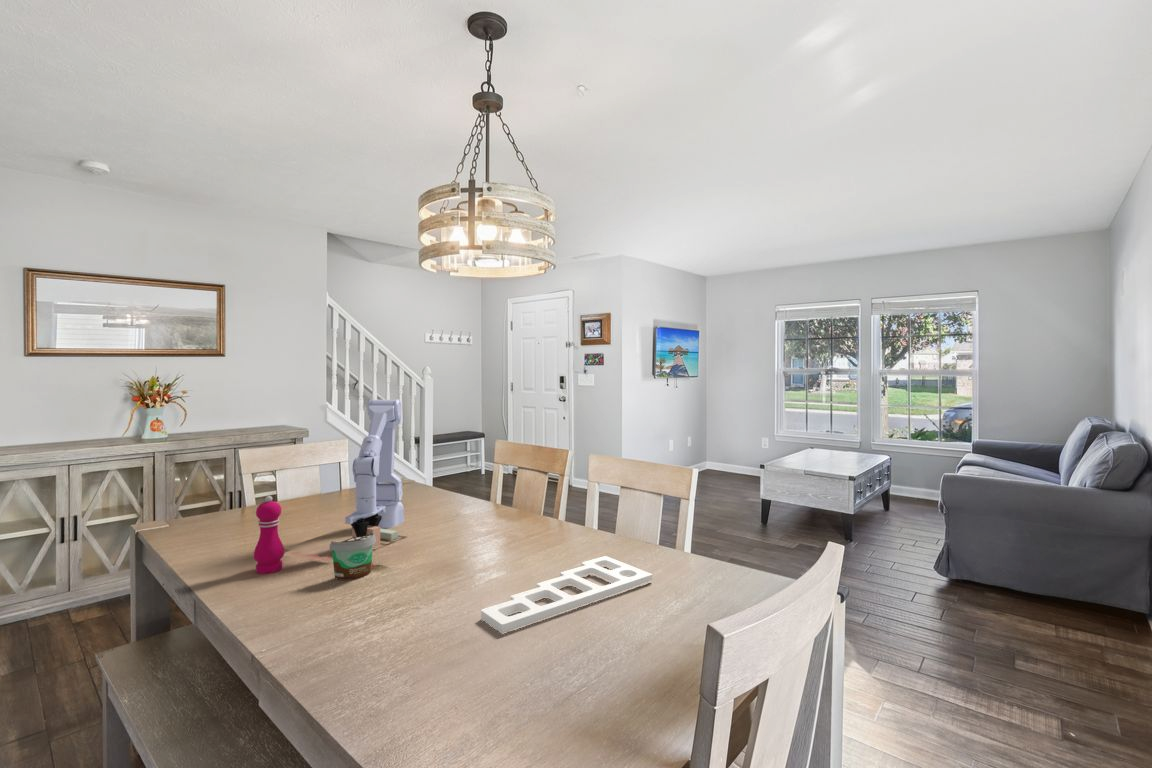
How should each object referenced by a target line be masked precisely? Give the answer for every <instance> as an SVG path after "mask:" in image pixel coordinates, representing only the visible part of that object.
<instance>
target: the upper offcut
mask: <svg viewBox="0 0 1152 768" xmlns="http://www.w3.org/2000/svg"><path fill="white" fill-rule="evenodd" d="M398 535H399V531H398V530H393V529H389V528H383V529H382V528H380V539H382V540H388V541H394V540H393V539H395V538H398Z"/></svg>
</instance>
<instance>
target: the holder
mask: <svg viewBox="0 0 1152 768" xmlns="http://www.w3.org/2000/svg"><path fill="white" fill-rule="evenodd" d="M601 565H608V566H610V567H613V568H615V569H613V570H610V569H607V568H603V567H601ZM589 573H594V574H596V575H598V576H601V577H603V578H605V579H607V580H610V581H612V582H614V583H611V584H610V583H607V584H606V585H605V584H604V585H600V584H596V583H594V582H592V581H590V580H588V579H586V578H581V577H580V576H583V575H586V574H589ZM625 575H630V576H631V577H627V576H625ZM650 580H652V581H653V573H650V572H648V571H646V570H643V569H640V568H638V567H635V566H633V565H630V564H628V563H625V562H622V561H620V560H617V559H615V558H612V557H609V556H607V555H604V556H603V555H602V556H600V557H596V558H593V559H590V560H585V561H582V562H581V566H578V567H575V568H571V569H567V570H565V571H561V572H560V576H557V577H554V578H550V579H547V580H544V581H540V582H537V583H536V588H535V587H534V588H532V589H528V590H524V591H522V592H518V593H515V594H512V595H510V600H508V601H505V602H501V603H498V604H495V605H490V606H488V607H485V608H484V607H483V609H482V608H481V610H480V620H481V619H482V620H484V621H485V622H487V623H488V624H490V625H491V626H492V627H494V628H496V629H497V630H498V631H500V632H501V633H504V632H508V631H510V630H513V629H515V628H518V627H521V626H524V625H527V624H530V623H533V622H535V621H538V620H541V619H544V618H547V617H549V616H552V615H554V614H558V613H560V612H563V611H566V610H569V609H572V608H575V607H578V606H581V605H583V604H587V603H590V602H592V601H595V600H598V599H601V598H604V597H606V596H609V595H612V594H615V593H618V592H621V591H623V590H626V589H629V588H632V587H634V586H637V585H640V584H642V583H645V582H648V581H650ZM568 584H572V585H574V586H576V587H578V588H580V589H582V590H584V591H586V592H580V593H577V594H573V595H571V594H569V593H567V592H565V591H563V590H562V589H561V590H559V589H557V588H560V587H563V586H565V585H568ZM543 597H549V598H551V599H553V600H555V601H556V602H553V601H552V602H550V603H547V604H544V605H539V604H538V603H536V602H532V601H534V600H537V599H540V598H543ZM516 611H523V612H522V613H516V614H513V615H510V616H505V615H507V614H510V613H513V612H516ZM482 620H481V621H482Z"/></svg>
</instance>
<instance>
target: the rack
mask: <svg viewBox="0 0 1152 768" xmlns="http://www.w3.org/2000/svg"><path fill="white" fill-rule="evenodd" d="M398 537H400V538H399V539H396V540H387V539H381V538H380V546H378V547H375V548H373V552H375V551H378V550H380V549H383V548H384V547H387V546H389V545H392V544H395V543H397V542H399V541H401V540H404V539H406V538H407V536H404V535H400V534H398ZM383 542H385V543H383ZM386 542H387V543H386Z"/></svg>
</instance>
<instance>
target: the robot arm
mask: <svg viewBox="0 0 1152 768" xmlns="http://www.w3.org/2000/svg"><path fill="white" fill-rule="evenodd" d="M366 407H367V409H366V411H367V415H368V418H369V420H370V424H369V430H368V435H367V436H365V437H364V438H362V439H363V440H362V443H361V447H360V449H359V453H358V455H357V457H356V458H354V459H353V462H352V468H351V470H352V475H353V481H354V483H355V509H354V510H353V512H352V513H351V514H349V515H346V516H345V519H344V522H345V524H348V525H351V528H352V527H353V529H354V531H355V533H356V536H357V537H362V536H366V532H367V527H368V525H371V526H378V527H380V528H381V529H390V528H395V527H396V526H399V525H401V524H403V523H405V508H404V505H403V503H402V502H401V501H402V498H403V490H404V489H403V481H402V478H401V477H399V476H398V475H396V474H395V473H394V472H395V468H394V467H395V443H396V441H395V440H396V428H397V425H399V424H401V421H402V411H403V410H402V409H403V407H402V403H401V401H400V399H399V398H398V399H374V398H371V399H370V400H369V401H368V403H367V406H366Z"/></svg>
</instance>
